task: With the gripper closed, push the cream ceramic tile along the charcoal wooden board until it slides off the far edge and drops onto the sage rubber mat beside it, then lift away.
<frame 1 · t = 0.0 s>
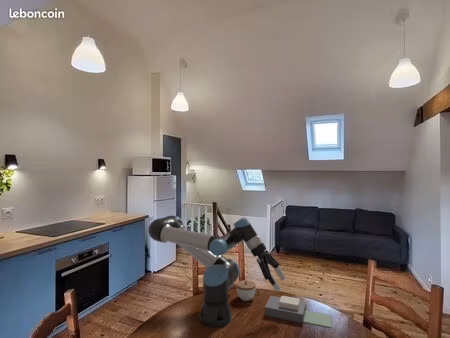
hand: (281, 284, 126), 15 cm above the table, tool tilted 35°, fingers open, 13 cm apart
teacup: (223, 291, 153), on the table
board: (285, 312, 130), on the table
lidded jar: (245, 298, 145), on the table
mat: (317, 318, 124), on the table
tile: (289, 305, 129), point 4 cm above the table, touching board
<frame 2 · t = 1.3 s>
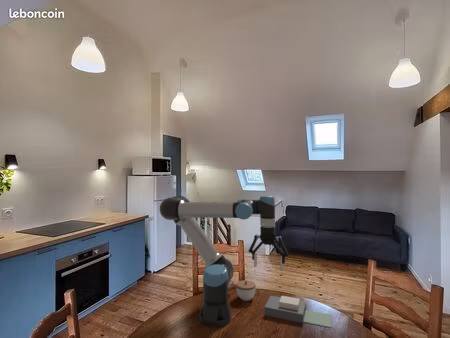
hand: (268, 268, 133), 21 cm above the table, tool pointing down, fingers open, 13 cm apart
nothing on the table moved.
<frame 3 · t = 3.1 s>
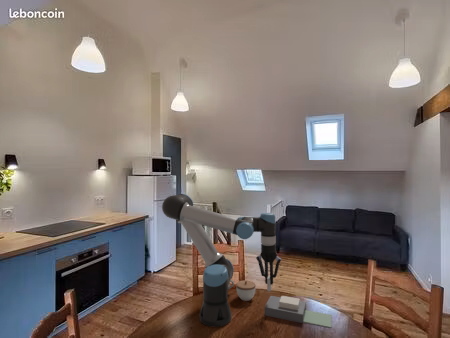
hand: (269, 290, 133), 9 cm above the table, tool pointing down, fingers closed
nothing on the table moved.
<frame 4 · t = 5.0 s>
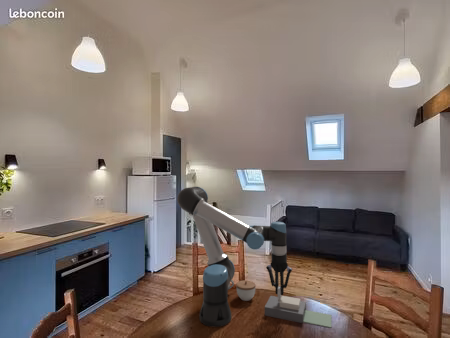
hand: (279, 300, 131), 5 cm above the table, tool pointing down, fingers closed
tile: (290, 305, 129), point 4 cm above the table, touching gripper
everything else where it was.
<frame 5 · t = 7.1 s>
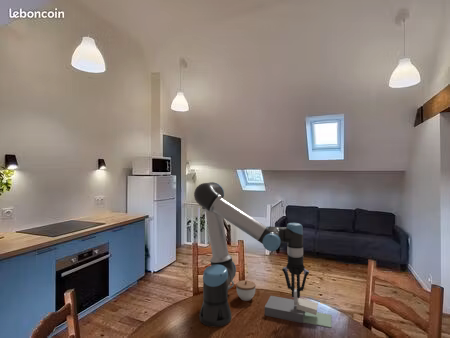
hand: (295, 303, 128), 5 cm above the table, tool pointing down, fingers closed
tile: (307, 308, 126), point 4 cm above the table, tilted 7°, touching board
everything else where it was.
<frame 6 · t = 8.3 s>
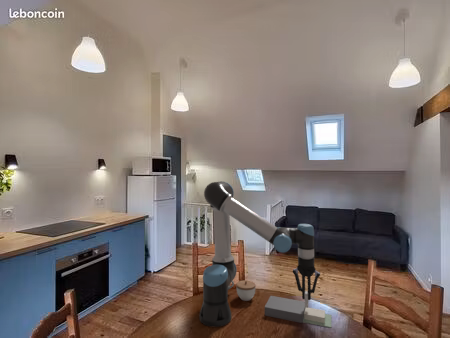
hand: (306, 306, 126), 5 cm above the table, tool pointing down, fingers closed
tile: (314, 317, 124), resting on mat
everything else where it was.
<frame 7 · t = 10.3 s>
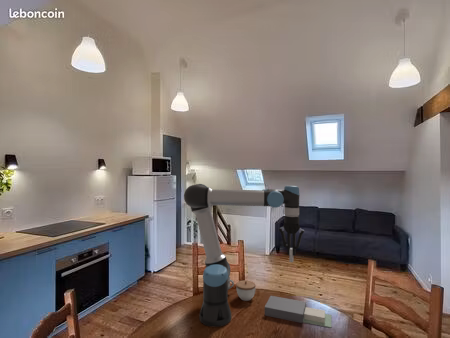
hand: (291, 261, 135), 24 cm above the table, tool pointing down, fingers closed
nothing on the table moved.
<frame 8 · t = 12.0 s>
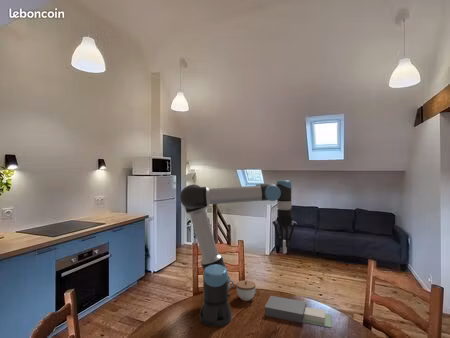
hand: (284, 252, 140), 26 cm above the table, tool pointing down, fingers closed
nothing on the table moved.
at the end: tile inside the target area (1.3 cm from its centre), resting on mat; tile touching mat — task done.
